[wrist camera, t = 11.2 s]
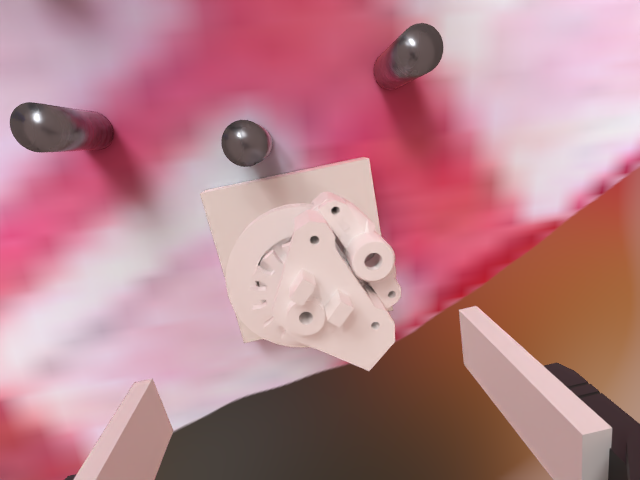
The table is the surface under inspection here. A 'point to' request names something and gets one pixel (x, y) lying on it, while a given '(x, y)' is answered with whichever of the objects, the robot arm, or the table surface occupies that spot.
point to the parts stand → (284, 203)
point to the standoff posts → (240, 136)
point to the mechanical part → (316, 280)
